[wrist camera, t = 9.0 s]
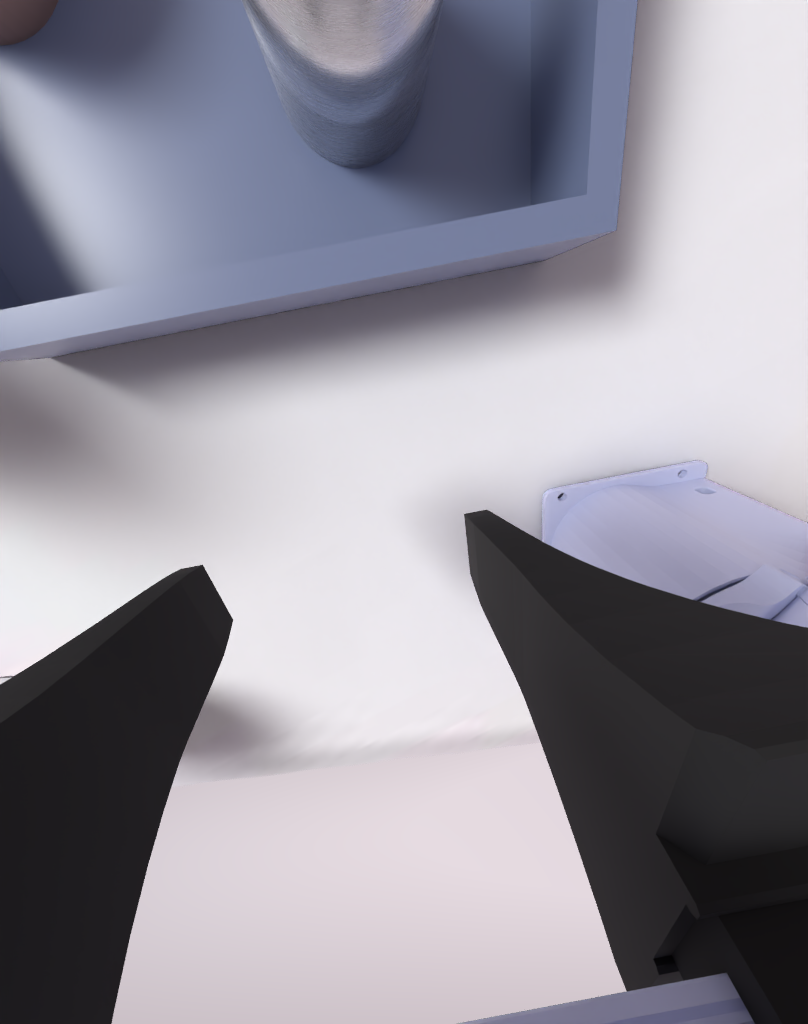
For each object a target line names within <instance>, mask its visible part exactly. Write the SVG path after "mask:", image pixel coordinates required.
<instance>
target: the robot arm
mask: <svg viewBox="0 0 808 1024" xmlns="http://www.w3.org/2000/svg"><path fill="white" fill-rule="evenodd" d="M707 469H708V465H707V463H705V462H703V461H700V460H696V461H691V462H686V463H680V464H675V465H670V466H665V467H660V468H655V469H650V470H644V471H639V472H634V473H629V474H624V475H619V476H613V477H608V478H603V479H598V480H593V481H588V482H583V483H577V484H572V485H567V486H562V487H557V488H552V489H549V490H547V491H546V492H545V493H544V494H543V499H542V541H540V540H539V539H537V538H535V537H533V536H531V535H529V534H528V533H526V532H524V531H522V530H521V529H519V528H517V527H515V526H514V525H512V524H510V523H509V522H507V521H505V520H504V519H502V518H500V517H499V516H497V515H495V514H493V513H492V512H490V511H488V510H483V511H478V512H473V513H468V514H464V516H465V526H466V536H467V545H468V555H469V565H470V574H471V577H472V580H473V583H474V586H475V589H476V592H477V595H478V598H479V601H480V604H481V606H482V609H483V611H484V613H485V615H486V617H487V619H488V621H489V623H490V626H491V628H492V630H493V632H494V634H495V636H496V638H497V640H498V642H499V644H500V646H501V648H502V650H503V652H504V655H505V657H506V659H507V661H508V663H509V665H510V667H511V669H512V671H513V673H514V675H515V677H516V680H517V682H518V684H519V686H520V689H521V691H522V693H523V696H524V698H525V701H526V704H527V706H528V709H529V712H530V714H531V717H532V720H533V722H534V725H535V728H536V730H537V733H538V736H539V739H540V741H541V744H542V747H543V750H544V752H545V755H546V758H547V761H548V763H549V766H550V769H551V772H552V775H553V777H554V780H555V783H556V786H557V789H558V792H559V794H560V797H561V800H562V803H563V806H564V809H565V812H566V815H567V818H568V820H569V823H570V826H571V829H572V832H573V835H574V838H575V841H576V843H577V846H578V850H579V853H580V855H581V859H582V861H583V865H584V868H585V871H586V874H587V877H588V880H589V883H590V885H591V889H592V892H593V895H594V898H595V901H596V904H597V907H598V910H599V913H600V916H601V919H602V922H603V925H604V928H605V931H606V934H607V937H608V941H609V944H610V947H611V950H612V953H613V956H614V959H615V962H616V965H617V967H618V970H619V973H620V975H621V978H622V980H623V983H624V985H625V988H626V990H627V992H622V993H617V994H611V995H606V996H601V997H595V998H591V999H585V1000H581V1001H574V1002H569V1003H564V1004H558V1005H553V1006H548V1007H543V1008H537V1009H532V1010H527V1011H521V1012H517V1013H511V1014H506V1015H500V1016H495V1017H490V1018H484V1019H479V1020H474V1021H469V1022H464V1023H458V1024H808V523H807V522H805V521H802V520H800V519H798V518H795V517H793V516H791V515H789V514H786V513H784V512H782V511H779V510H777V509H775V508H772V507H770V506H768V505H765V504H763V503H761V502H759V501H756V500H754V499H752V498H749V497H747V496H745V495H742V494H740V493H738V492H735V491H733V490H731V489H729V488H726V487H724V486H722V485H719V484H717V483H715V482H712V481H710V480H708V479H706V478H705V477H706V473H707ZM681 470H682V471H681ZM680 471H681V473H680V474H679V475H678V473H679V472H680ZM561 493H564V494H563V496H562V497H561V498H558V496H559V495H560V494H561ZM232 622H233V619H232V617H231V615H230V614H229V612H228V610H227V608H226V606H225V605H224V603H223V601H222V599H221V597H220V595H219V594H218V592H217V590H216V588H215V586H214V585H213V583H212V581H211V579H210V577H209V576H208V574H207V572H206V570H205V568H204V566H203V565H200V566H194V567H189V568H184V569H180V570H178V571H176V572H174V573H172V574H171V575H169V576H167V577H165V578H164V579H162V580H161V581H159V582H157V583H156V584H154V585H153V586H151V587H150V588H148V589H147V590H145V591H144V592H142V593H141V594H139V595H138V596H136V597H135V598H133V599H132V600H130V601H129V602H127V603H126V604H124V605H123V606H121V607H120V608H119V609H117V610H116V611H114V612H113V613H111V614H110V615H108V616H107V617H105V618H104V619H102V620H101V621H99V622H98V623H96V624H95V625H93V626H92V627H90V628H89V629H87V630H86V631H84V632H83V633H81V634H80V635H78V636H77V637H75V638H74V639H72V640H70V641H69V642H67V643H66V644H64V645H63V646H61V647H60V648H58V649H57V650H55V651H54V652H52V653H51V654H49V655H47V656H46V657H44V658H43V659H41V660H40V661H38V662H36V663H35V664H33V665H32V666H30V667H28V668H27V669H25V670H24V671H22V672H20V673H19V674H17V675H15V676H14V677H12V678H10V679H9V680H7V681H5V682H3V683H2V684H0V1024H111V1023H112V1017H113V1013H114V1008H115V1003H116V999H117V993H118V989H119V985H120V980H121V975H122V971H123V966H124V961H125V957H126V952H127V948H128V943H129V939H130V934H131V930H132V926H133V922H134V918H135V914H136V910H137V906H138V902H139V898H140V895H141V891H142V886H143V883H144V879H145V875H146V871H147V867H148V863H149V860H150V856H151V853H152V849H153V846H154V842H155V839H156V835H157V832H158V828H159V825H160V822H161V817H162V814H163V811H164V808H165V805H166V802H167V799H168V796H169V792H170V789H171V786H172V783H173V780H174V777H175V774H176V771H177V768H178V765H179V762H180V759H181V757H182V754H183V751H184V749H185V746H186V744H187V741H188V739H189V736H190V734H191V732H192V729H193V727H194V725H195V722H196V720H197V718H198V715H199V713H200V711H201V708H202V706H203V704H204V701H205V699H206V697H207V694H208V692H209V690H210V687H211V685H212V683H213V680H214V678H215V676H216V673H217V671H218V668H219V666H220V664H221V661H222V658H223V656H224V653H225V649H226V646H227V642H228V639H229V635H230V631H231V626H232Z"/></svg>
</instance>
